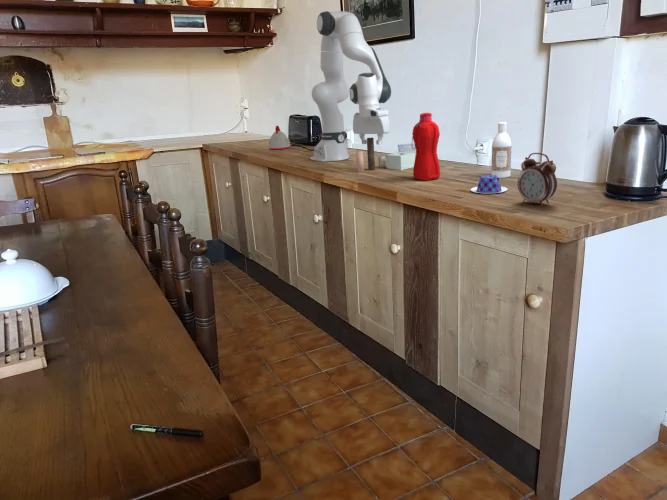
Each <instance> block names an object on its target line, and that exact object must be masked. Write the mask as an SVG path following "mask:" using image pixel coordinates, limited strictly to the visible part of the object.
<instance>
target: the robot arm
mask: <svg viewBox="0 0 667 500" xmlns="http://www.w3.org/2000/svg"><path fill="white" fill-rule="evenodd" d="M316 19H317V20H316V29H317V31H318V33H319V34H320V35H321V36H322V37H321V42H320V43H321V44H320V70H321V72H322V74H323V75H324V81H323V82H319V83H317V84H316V85H314V86H313V87H312V89H311V97H312V100H313V101H314V102H315V104H316V105H317V107H318V111H319V113H320V117H321V125H322V133H319V134H320V135H319V136H320V141H319V142H318V143H317V144H316V145H315V147H314V150H313V151H314V152H313V153H314V155H313V156H310V158H309V160H313V161H317V162H321V163H322V162H337V161H344V160H348V159H349V158H350V157H351V155H350V154H349V150H348V145H347V141H346V130H345V123H344V122H345V121H344V115H343V113H342V112H341V111H340V109H339V104H340V103H342V102H345V100H347V99H348V97H349V98H350V102H352V103H353V104H355V105H358V111H359V112H355V114H354V115H353V118H352V119H353V121H352V132H353V134H355V135H356V134H357V135H358V136H359V139H360V140H361V145H367V139H366V138H365V136H366V135H377V137H378V138H377V140H376V146H379V145H382V140H383V137H384V135H385V134H389V132H390V130H391V129H390V117H389V116H388V115H389V110H388V109H386V108H384V107H381V106H380V104H385V103H386V102H387V101H389V99H390V98H391V96H392V89H391V85H390V82H389V81H388V79H387V78H386V76H385V73H384V70H383V68H382V66H381V65H382V64H381V63H380V60H379V58H378V55H377V53H376V51H375V49H374V47H372V46H370V45H369V44H368V43H367V41H366V40H365V37H364V34H363V24H364V23H363V19H362V16H361V14H359V13H356V12H354V11H353V12H349V11H343V10H339V11H338V10H337V11H334V10H333V11H322V12H320V13H319V15H318V16H317V18H316ZM344 56H345V57H346V58H348V59H350V60H353V61H356V62H359V63H362V64H365V65H366V66H367V67H369V69H370V72H363V73H360V74H358V76H357V81H356V82H355V83H352V85H351V86H350V87H349V86H348V85H347V83H346V80H345V75H344V68H343V67H344V66H343V65H344V64H343V63H344Z"/></svg>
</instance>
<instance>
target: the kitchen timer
mask: <svg viewBox="0 0 667 500" xmlns="http://www.w3.org/2000/svg"><path fill="white" fill-rule="evenodd" d="M274 129H275V130H274V132H273V134H272V135H271V136H270V139H268V150H269V149H270V150H282V151H284V150H283V149H288V148H292V147H291V143H290V139H289V137H288V136H287V135H286V133H284V132H283V131H281V128H280V126H279V125H276V126H275V128H274ZM288 150H289V149H288Z"/></svg>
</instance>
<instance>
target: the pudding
mask: <svg viewBox="0 0 667 500" xmlns="http://www.w3.org/2000/svg"><path fill="white" fill-rule="evenodd" d="M470 191H471V192H473V193H475V194H477V193H478V194H485V195H486V194H487V195H488V194H491V195H492V194H498V193H499V194H500V193H503V192H507V191H508V188H507V187H505V186H501V182H500V178H498V176H496V175H491V174H484V175H480V177H479V181H478V184H477V186H475V187H472V188H470Z"/></svg>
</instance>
